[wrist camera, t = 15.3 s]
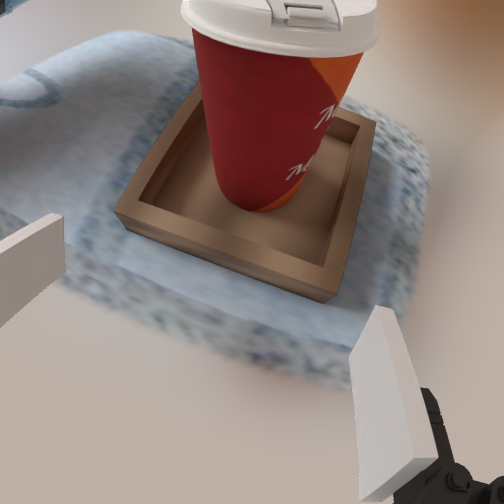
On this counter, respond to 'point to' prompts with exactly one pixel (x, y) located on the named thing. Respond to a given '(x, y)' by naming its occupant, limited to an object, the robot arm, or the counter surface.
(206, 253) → the walnut tray
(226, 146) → the coffee cup
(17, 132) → the counter surface
